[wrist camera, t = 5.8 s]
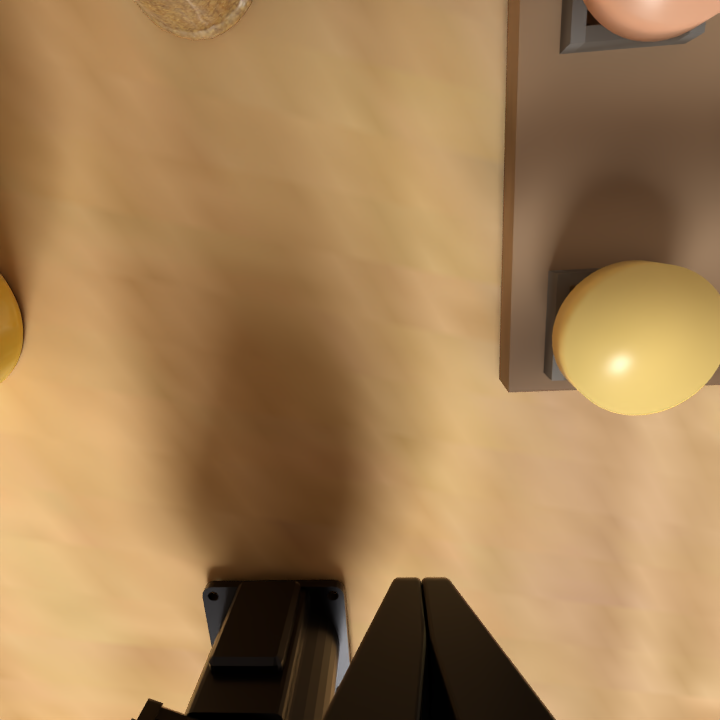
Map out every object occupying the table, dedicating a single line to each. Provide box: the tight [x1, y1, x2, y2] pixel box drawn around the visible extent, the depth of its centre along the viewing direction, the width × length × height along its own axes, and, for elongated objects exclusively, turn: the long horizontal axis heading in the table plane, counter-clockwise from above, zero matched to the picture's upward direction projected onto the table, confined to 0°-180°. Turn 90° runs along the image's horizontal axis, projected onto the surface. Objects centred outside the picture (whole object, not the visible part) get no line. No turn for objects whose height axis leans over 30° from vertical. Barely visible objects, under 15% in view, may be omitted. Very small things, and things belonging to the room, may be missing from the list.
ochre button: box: [552, 260, 720, 415], centre depth 15 cm, size 4×4×2 cm
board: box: [499, 0, 720, 392], centre depth 15 cm, size 15×12×2 cm
